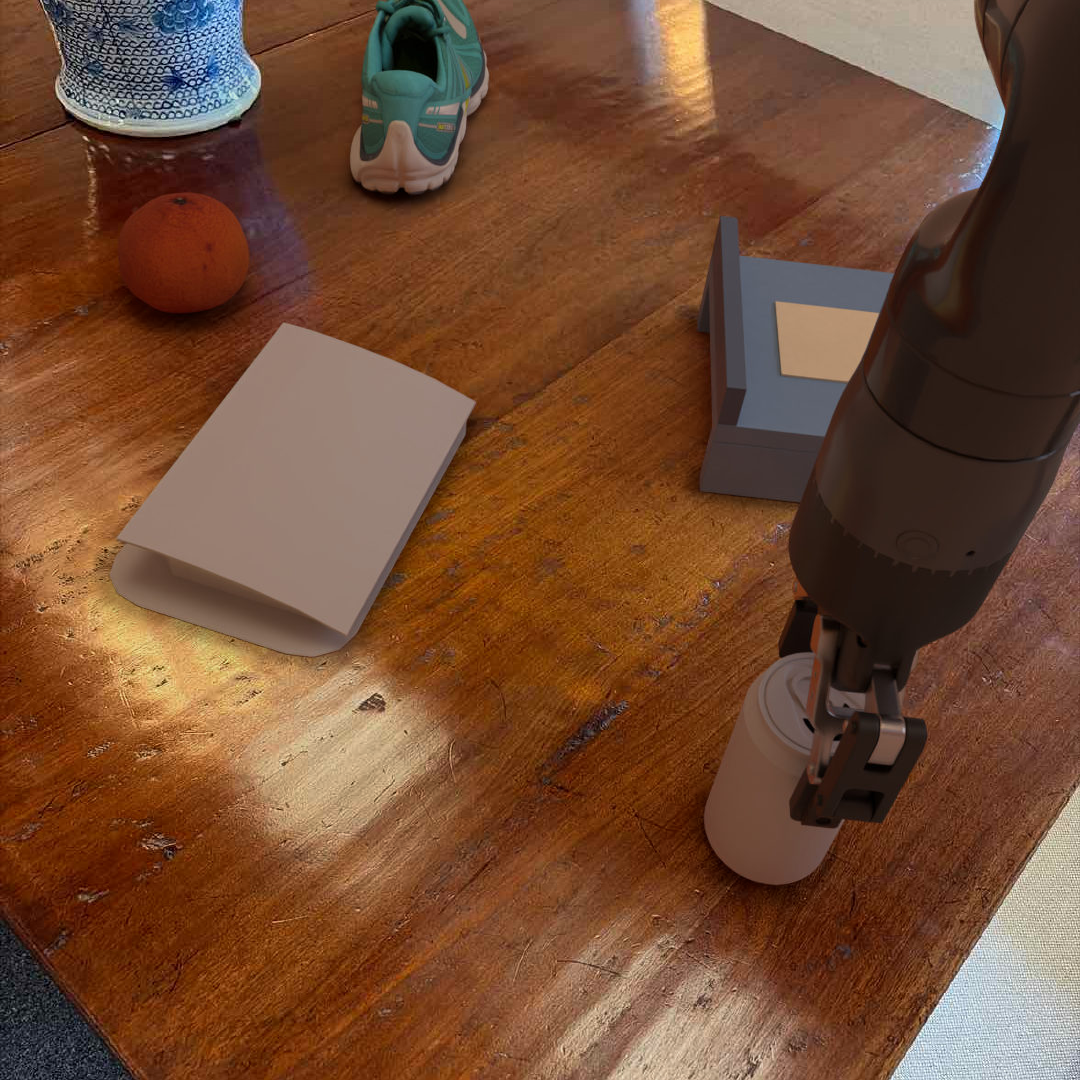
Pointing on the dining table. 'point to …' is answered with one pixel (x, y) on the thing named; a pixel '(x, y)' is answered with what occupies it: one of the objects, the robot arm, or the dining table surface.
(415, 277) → the dining table surface
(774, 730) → the beverage can
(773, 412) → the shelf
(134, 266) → the fruit
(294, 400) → the book
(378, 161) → the running shoe
